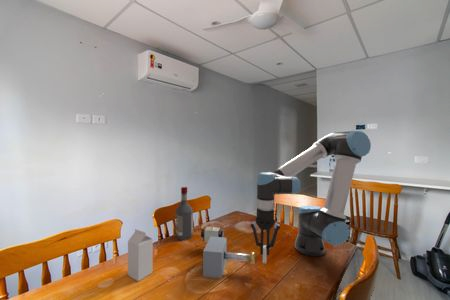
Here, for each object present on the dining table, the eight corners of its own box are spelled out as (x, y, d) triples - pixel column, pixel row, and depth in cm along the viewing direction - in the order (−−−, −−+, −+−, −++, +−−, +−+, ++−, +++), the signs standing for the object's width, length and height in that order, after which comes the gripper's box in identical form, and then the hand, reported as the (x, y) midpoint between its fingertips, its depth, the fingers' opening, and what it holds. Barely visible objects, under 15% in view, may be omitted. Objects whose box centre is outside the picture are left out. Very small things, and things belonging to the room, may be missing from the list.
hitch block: (226, 260, 101) (226, 237, 100) (221, 278, 87) (221, 252, 86) (210, 258, 102) (210, 236, 101) (203, 276, 88) (203, 250, 88)
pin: (254, 260, 94) (254, 250, 94) (254, 266, 89) (254, 255, 89) (220, 257, 96) (220, 247, 96) (218, 263, 91) (219, 252, 91)
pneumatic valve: (222, 252, 108) (222, 229, 108) (200, 249, 110) (200, 227, 110) (224, 247, 113) (224, 225, 113) (203, 244, 116) (203, 223, 115)
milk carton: (138, 282, 84) (138, 235, 84) (127, 276, 88) (127, 231, 87) (152, 272, 90) (152, 229, 90) (142, 267, 94) (142, 226, 93)
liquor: (188, 232, 132) (188, 185, 131) (194, 237, 124) (194, 188, 123) (174, 235, 127) (174, 187, 126) (179, 241, 119) (179, 189, 119)
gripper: (279, 206, 93) (278, 258, 94) (250, 204, 95) (249, 255, 95) (281, 211, 86) (280, 267, 86) (250, 210, 87) (249, 264, 88)
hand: (264, 261), depth 91 cm, fingers closed
